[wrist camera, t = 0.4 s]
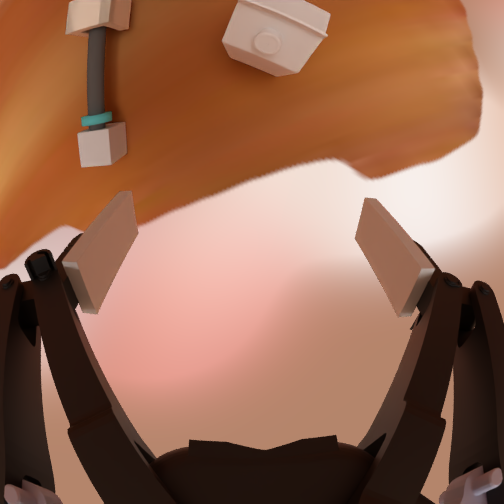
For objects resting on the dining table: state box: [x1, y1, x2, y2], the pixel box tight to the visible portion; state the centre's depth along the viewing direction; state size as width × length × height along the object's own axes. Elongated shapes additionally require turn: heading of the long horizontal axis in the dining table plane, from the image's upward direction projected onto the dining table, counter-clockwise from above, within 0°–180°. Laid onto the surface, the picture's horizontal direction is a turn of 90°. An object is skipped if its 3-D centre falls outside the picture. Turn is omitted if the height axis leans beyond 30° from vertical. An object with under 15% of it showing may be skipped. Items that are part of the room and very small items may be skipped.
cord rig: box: [77, 26, 127, 167], centre depth 27 cm, size 30×5×7 cm, turn 176°
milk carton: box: [222, 0, 331, 77], centre depth 22 cm, size 7×7×19 cm
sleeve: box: [66, 0, 132, 38], centre depth 22 cm, size 5×6×7 cm
